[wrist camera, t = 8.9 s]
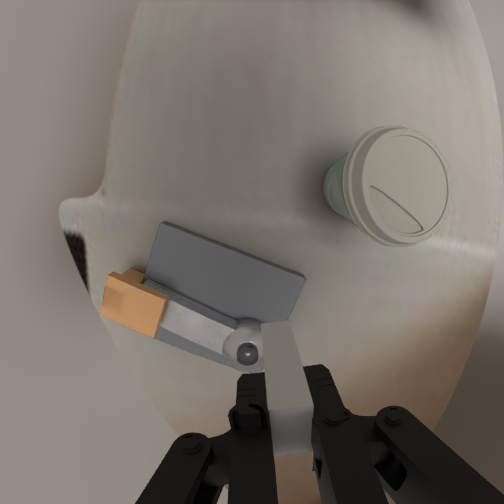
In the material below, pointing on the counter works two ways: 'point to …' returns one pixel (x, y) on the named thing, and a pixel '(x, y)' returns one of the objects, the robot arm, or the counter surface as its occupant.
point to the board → (219, 282)
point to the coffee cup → (391, 186)
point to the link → (213, 330)
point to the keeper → (133, 302)
